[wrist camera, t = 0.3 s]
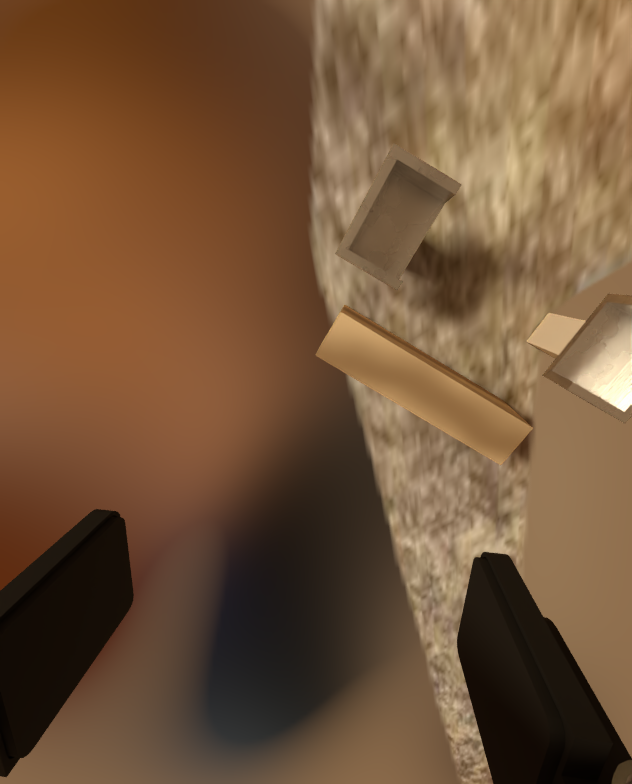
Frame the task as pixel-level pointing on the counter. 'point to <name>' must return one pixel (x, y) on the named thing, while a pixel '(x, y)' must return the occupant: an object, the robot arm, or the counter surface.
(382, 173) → the bracket stand
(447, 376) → the rail
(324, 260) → the counter surface
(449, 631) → the counter surface
